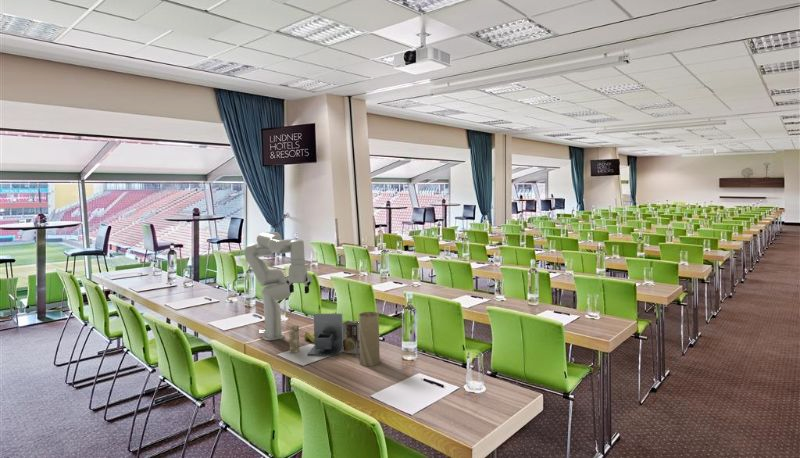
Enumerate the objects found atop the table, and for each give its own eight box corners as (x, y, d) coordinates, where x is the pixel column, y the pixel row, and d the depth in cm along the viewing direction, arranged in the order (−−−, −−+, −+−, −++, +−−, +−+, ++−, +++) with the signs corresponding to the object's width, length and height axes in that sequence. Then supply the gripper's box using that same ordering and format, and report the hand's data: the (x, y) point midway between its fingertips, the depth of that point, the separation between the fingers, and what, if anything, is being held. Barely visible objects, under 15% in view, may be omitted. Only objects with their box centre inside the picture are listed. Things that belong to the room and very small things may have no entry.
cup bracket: (307, 355, 255) (306, 320, 254) (315, 345, 271) (314, 313, 269) (336, 356, 253) (335, 321, 252) (343, 346, 269) (342, 313, 268)
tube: (366, 367, 237) (365, 318, 235) (356, 361, 245) (355, 314, 243) (383, 363, 243) (382, 314, 240) (372, 357, 251) (371, 310, 249)
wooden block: (289, 352, 260) (289, 327, 259) (292, 350, 264) (291, 325, 263) (297, 352, 260) (296, 327, 259) (299, 350, 264) (298, 325, 263)
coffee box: (362, 350, 262) (362, 321, 261) (358, 354, 256) (357, 324, 255) (347, 348, 265) (347, 320, 264) (342, 352, 259) (341, 323, 258)
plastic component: (314, 340, 274) (305, 330, 280) (312, 350, 277) (302, 339, 283) (341, 330, 288) (331, 320, 294) (339, 339, 291) (329, 329, 297)
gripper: (280, 262, 265) (282, 293, 266) (307, 263, 259) (309, 294, 260) (288, 261, 272) (289, 290, 273) (315, 261, 266) (316, 292, 267)
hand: (299, 292), depth 266 cm, fingers open, 9 cm apart
